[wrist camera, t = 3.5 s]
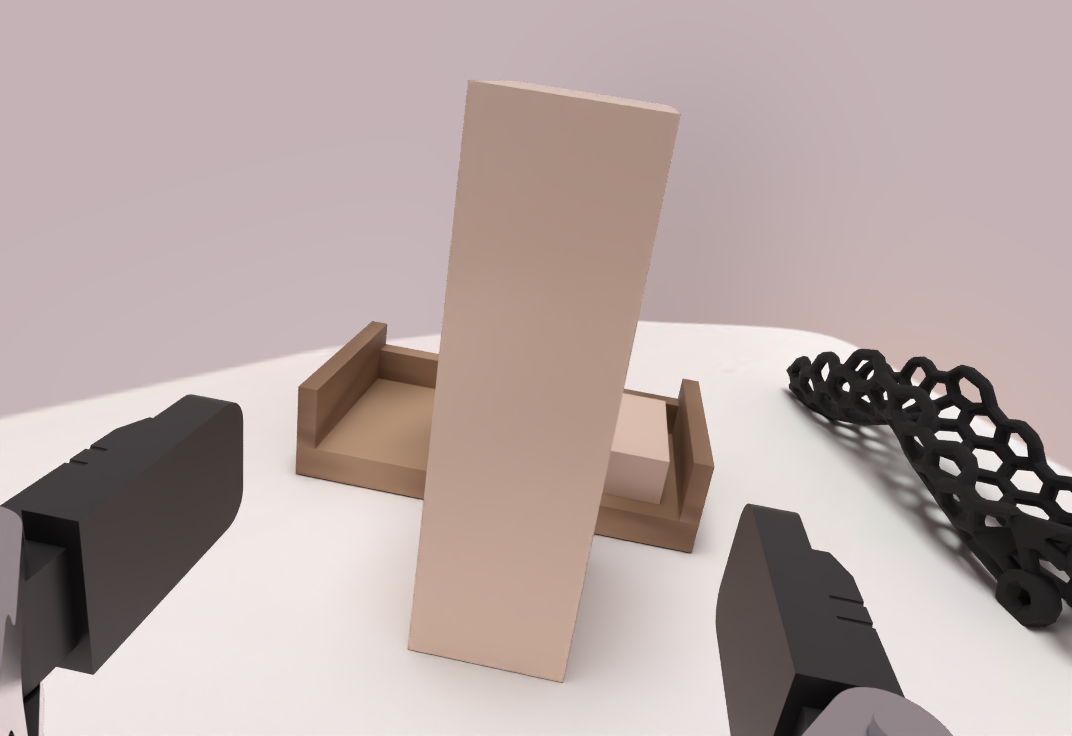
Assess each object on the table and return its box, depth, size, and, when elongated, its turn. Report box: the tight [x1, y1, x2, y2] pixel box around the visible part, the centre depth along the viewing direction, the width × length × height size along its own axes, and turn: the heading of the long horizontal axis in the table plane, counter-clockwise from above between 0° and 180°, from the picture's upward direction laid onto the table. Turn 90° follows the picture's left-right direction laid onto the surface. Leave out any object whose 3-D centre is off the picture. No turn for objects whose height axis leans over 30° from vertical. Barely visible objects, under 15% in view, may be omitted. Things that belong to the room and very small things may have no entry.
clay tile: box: [602, 393, 670, 504], centre depth 30 cm, size 4×6×2 cm
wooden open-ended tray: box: [296, 321, 714, 553], centre depth 31 cm, size 15×8×4 cm, turn 82°
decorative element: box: [786, 349, 1072, 627], centre depth 34 cm, size 22×5×6 cm, turn 9°
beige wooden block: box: [408, 80, 681, 682], centre depth 21 cm, size 4×6×15 cm
